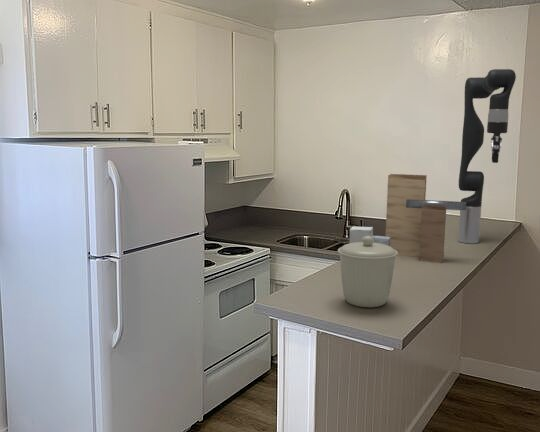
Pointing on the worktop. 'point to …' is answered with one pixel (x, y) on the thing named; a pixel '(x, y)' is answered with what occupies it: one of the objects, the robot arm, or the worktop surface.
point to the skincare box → (360, 233)
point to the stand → (404, 212)
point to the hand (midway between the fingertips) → (494, 161)
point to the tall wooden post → (432, 233)
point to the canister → (367, 272)
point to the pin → (436, 204)
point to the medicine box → (382, 240)
